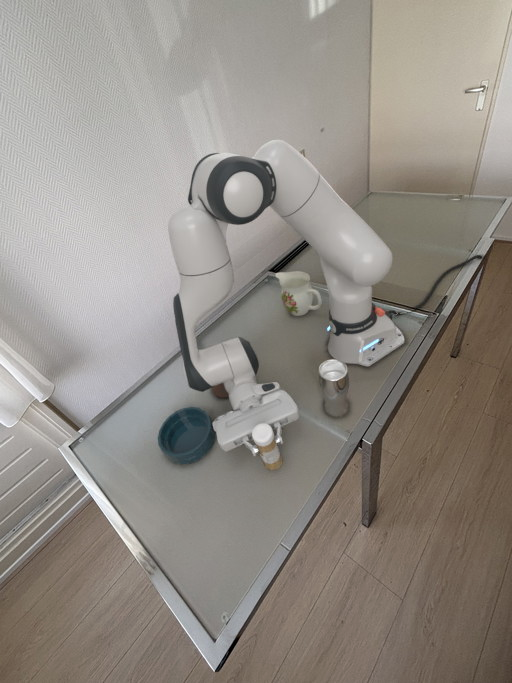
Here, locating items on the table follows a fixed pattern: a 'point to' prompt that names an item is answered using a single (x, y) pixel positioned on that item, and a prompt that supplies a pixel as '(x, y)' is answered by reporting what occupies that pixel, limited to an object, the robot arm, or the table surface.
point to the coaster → (220, 391)
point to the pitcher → (297, 292)
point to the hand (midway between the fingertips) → (268, 448)
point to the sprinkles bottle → (267, 446)
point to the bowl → (186, 435)
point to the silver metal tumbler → (334, 386)
